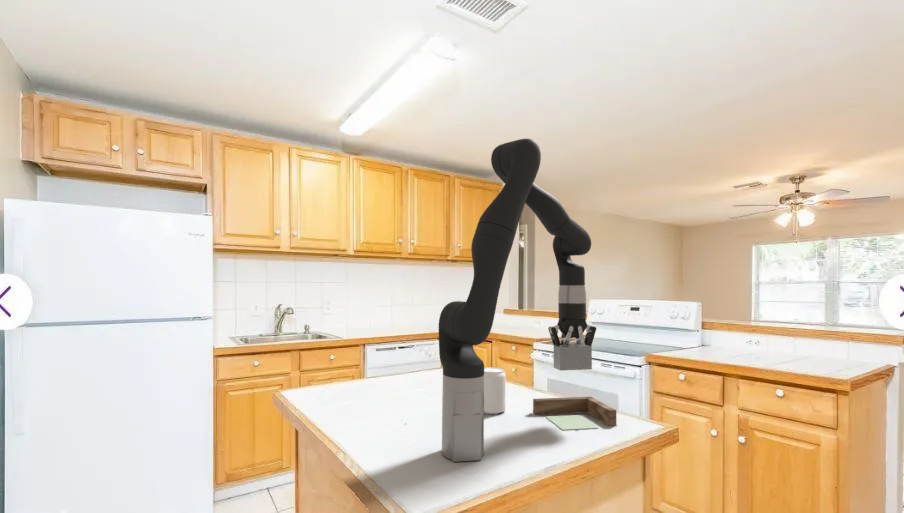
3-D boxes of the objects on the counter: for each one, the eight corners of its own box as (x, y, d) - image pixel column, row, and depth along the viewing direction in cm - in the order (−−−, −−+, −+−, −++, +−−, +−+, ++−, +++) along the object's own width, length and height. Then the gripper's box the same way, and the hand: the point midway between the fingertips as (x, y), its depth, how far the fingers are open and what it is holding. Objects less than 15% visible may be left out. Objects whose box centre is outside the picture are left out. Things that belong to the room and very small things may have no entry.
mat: (598, 428, 115) (598, 427, 115) (562, 430, 114) (562, 429, 114) (578, 415, 126) (578, 415, 126) (545, 417, 124) (545, 416, 124)
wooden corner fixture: (616, 425, 118) (616, 410, 118) (552, 428, 115) (552, 413, 115) (590, 410, 132) (590, 396, 132) (533, 412, 128) (533, 398, 129)
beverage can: (506, 415, 126) (507, 372, 126) (478, 415, 126) (478, 372, 126) (504, 407, 134) (504, 367, 134) (477, 406, 134) (477, 366, 135)
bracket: (591, 369, 117) (591, 346, 118) (560, 370, 116) (559, 347, 116) (575, 363, 126) (575, 341, 127) (546, 364, 125) (546, 342, 125)
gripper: (588, 300, 130) (589, 359, 129) (543, 300, 127) (543, 361, 126) (602, 302, 122) (602, 364, 122) (554, 302, 120) (554, 366, 119)
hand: (572, 362), depth 124 cm, fingers closed on bracket, 4 cm apart
